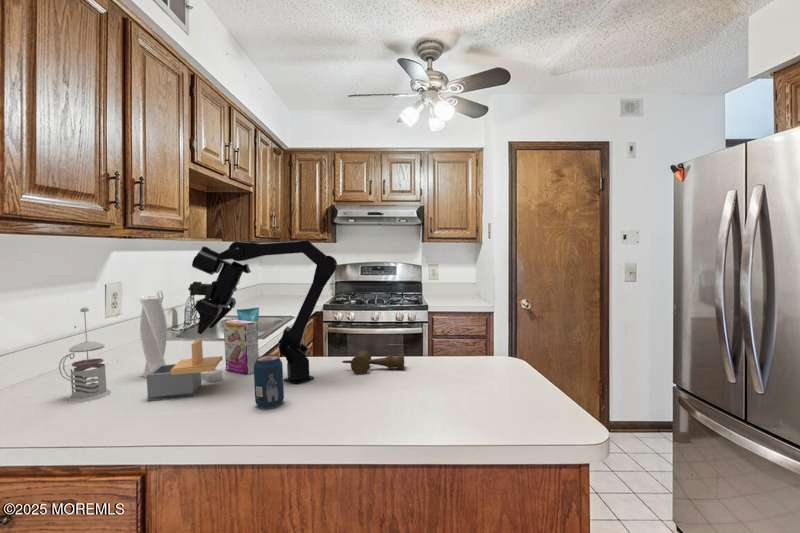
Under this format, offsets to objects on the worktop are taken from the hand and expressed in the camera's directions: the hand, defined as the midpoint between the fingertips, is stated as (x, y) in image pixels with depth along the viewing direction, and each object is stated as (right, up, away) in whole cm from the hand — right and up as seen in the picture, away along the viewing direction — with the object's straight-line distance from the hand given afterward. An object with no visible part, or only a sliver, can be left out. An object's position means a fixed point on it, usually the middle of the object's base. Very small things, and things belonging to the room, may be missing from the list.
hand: (205, 330), depth 120 cm
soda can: (+24, -16, -16) cm, 33 cm away
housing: (-6, -17, -4) cm, 18 cm away
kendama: (+48, -15, +12) cm, 52 cm away
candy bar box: (+5, -16, +16) cm, 23 cm away
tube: (+4, -16, +27) cm, 31 cm away
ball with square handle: (-2, -16, +8) cm, 18 cm away
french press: (-31, -18, -5) cm, 36 cm away
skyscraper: (-22, -17, +14) cm, 31 cm away
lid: (-1, -10, -3) cm, 10 cm away
